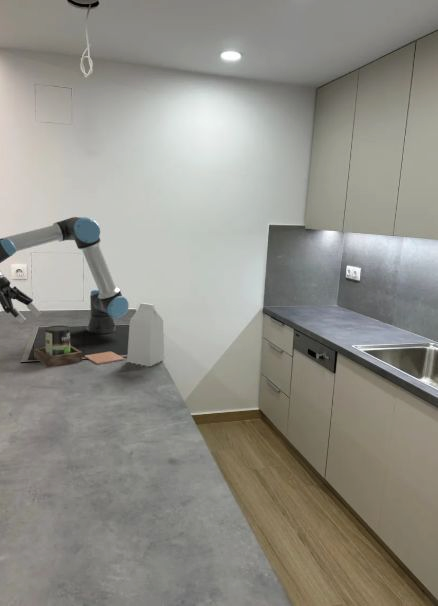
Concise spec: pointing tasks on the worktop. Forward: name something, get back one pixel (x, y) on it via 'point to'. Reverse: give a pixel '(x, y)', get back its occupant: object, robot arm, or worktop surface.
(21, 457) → the worktop surface
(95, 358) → the tile
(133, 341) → the milk
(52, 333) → the coffee can
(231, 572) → the worktop surface
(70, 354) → the tray
